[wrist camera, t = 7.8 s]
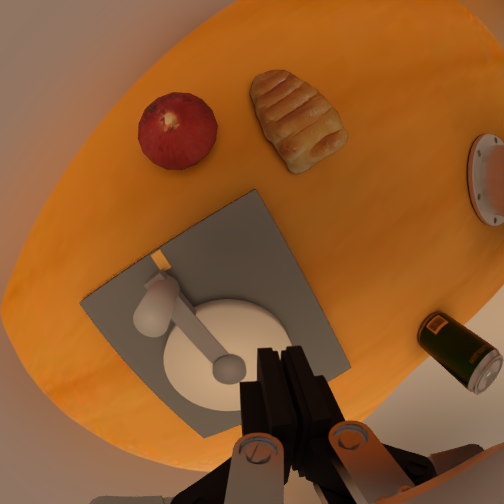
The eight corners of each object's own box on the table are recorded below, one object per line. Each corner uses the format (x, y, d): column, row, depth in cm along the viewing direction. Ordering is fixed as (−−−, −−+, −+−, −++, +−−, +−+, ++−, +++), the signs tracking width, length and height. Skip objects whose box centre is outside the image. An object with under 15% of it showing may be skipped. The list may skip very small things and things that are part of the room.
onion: (138, 138, 22) (103, 120, 14) (188, 94, 21) (174, 57, 14) (180, 185, 23) (161, 185, 15) (231, 140, 23) (236, 120, 15)
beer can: (410, 334, 30) (469, 387, 18) (437, 302, 29) (502, 345, 18) (424, 352, 31) (477, 401, 20) (449, 323, 31) (506, 364, 19)
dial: (309, 361, 27) (332, 405, 21) (217, 413, 28) (218, 460, 21) (213, 230, 23) (210, 249, 16) (111, 306, 24) (81, 344, 17)
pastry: (229, 98, 22) (231, 83, 18) (288, 62, 22) (299, 45, 18) (293, 180, 24) (306, 179, 21) (347, 141, 24) (367, 135, 20)
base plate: (254, 189, 24) (256, 189, 23) (348, 362, 30) (352, 368, 28) (83, 299, 24) (78, 303, 23) (204, 432, 30) (204, 439, 29)
